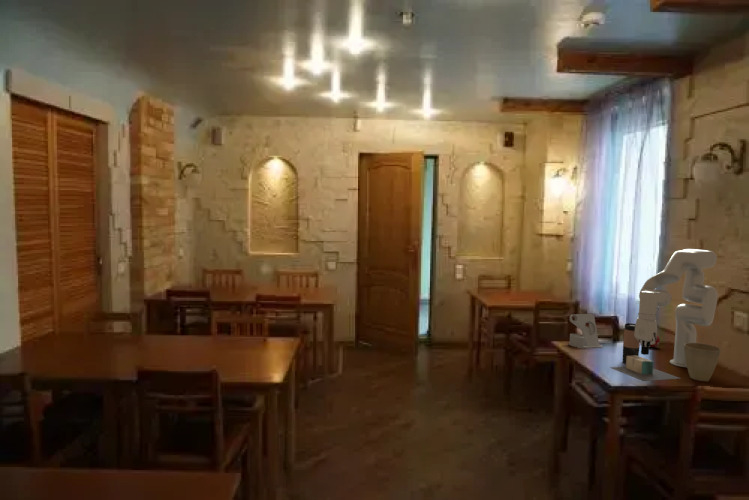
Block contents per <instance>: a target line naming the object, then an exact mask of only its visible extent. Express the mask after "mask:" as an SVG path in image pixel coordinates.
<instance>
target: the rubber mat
mask: <svg viewBox="0 0 749 500" xmlns="http://www.w3.org/2000/svg"><path fill="white" fill-rule="evenodd" d="M609 369H612V370H615V371H617V372H620V373H622V374H624V375H627V376H629V377H632V378H635V379H637V380H640V381H642V382H650V381H652V382H653V381H664V380H665V381H666V380H678V379H681V377H679V376H675V375H673V374H670V373H667V372H665V371H662V370H659V369H657V368H654V367H653V374H640V373H638V372H635V371H633V370H630V369H627V368H626V366H613V367H612V366H611V367H609Z"/></svg>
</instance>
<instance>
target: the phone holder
mask: <svg viewBox="0 0 749 500" xmlns="http://www.w3.org/2000/svg"><path fill="white" fill-rule="evenodd" d="M573 318H574V320H573ZM569 322H570V323H571V324H573V325H575V326H576V327H577V328H578V329H579V330H581V334H582V335H581V334H577V333H570V334H569V343H568V345H569V346H572V347H574V348H576V347H577V348H576V349H595V348H596V349H597V348H603V345H601V344H600V342H599V336H598V331H597V330H598V329H597V325H596V319H595V315H594V314H593V313H576V314H575V313H574V314H573V313H572V314H570V316H569ZM587 323H588V324H589V325H588V326H586V324H587Z"/></svg>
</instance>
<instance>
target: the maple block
mask: <svg viewBox="0 0 749 500" xmlns="http://www.w3.org/2000/svg"><path fill="white" fill-rule="evenodd" d="M625 367H626V368H627V369H630V370H633V371H635V372H638V373H640V374H653V368H654V361H653V360H651V359H648V358H645V357H642V356H637V355H634V356H627V357H626V364H625Z"/></svg>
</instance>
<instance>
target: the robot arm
mask: <svg viewBox="0 0 749 500" xmlns="http://www.w3.org/2000/svg"><path fill="white" fill-rule="evenodd" d="M717 261H718V256H717V254H716V252H714V251H712V250H707V249H706V250H705V249H698V248H685V249H682V250H676V251H674V252H673V254H672V255H671V257H670V259H669V260H668V261H667V264H666V265H665V267H664V268H663V270H662V271H660V272H659V273H656V274H655V275H652V276H651V277H649V278H648V279H646V281H645V283H643V285H642V286H641V289H640V291H639V293H638V299H639V303H638V304H639V307H638V308H639V309H638V313H637V314H638V317H637V318H636V321H635V324H636V325H635V332H634V336H635V338H636V339H637V340H638V341H640V346H641V349H640V354H641V355H645V356H646V355H649V354H650V348H651V347H650V346H651V345H653V344H655V341H656V340H657V335H658V322H657V309H658V307H667V306H669V304H670V303H671V302H672V300H673V299H672V295H671V293H669V292H668V291H666V290H661V289H658V288H659V287H662V286H666V285H670V284H674V283H678V282H680V280H681V278H682V277H683V274H684V273H685V276H684V277H685V278H684V283H683V287H682V296H681V297H682V298H683V300H684V301H687V302H689V303H690V304H689V303H681V304H680V303H679V304H678V305H677V306H676V307H675V312H674V317H675V335H674V346H673V347H674V350H673V358H672V359H670V360H669V363H670V365H673V366H676V367H681V368H687V364H686V359H685V350H684V344H685V343H697V334H698V333H697V329H696V327H695V325H698V326H703V327H708V326H711V325H712V324H713V321H714V318H715V314H716V310H717V303H718V298H719V297H718V296H719V294H718V290H717V289H716V287H714V286H712V285H706V284H704V283H705V282H704V281H705V273H704V269H710V268H713V267H714V266H715V265H716V264H717ZM691 303H695V304H696V305H694V304H691ZM697 304H700V305H697ZM701 304H702V306H701Z"/></svg>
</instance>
